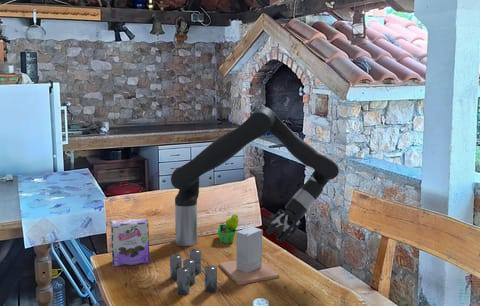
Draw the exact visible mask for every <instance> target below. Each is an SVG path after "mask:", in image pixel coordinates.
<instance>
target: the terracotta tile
mask: <svg viewBox="0 0 480 306" xmlns="http://www.w3.org/2000/svg"><path fill="white" fill-rule="evenodd" d="M218 266H219V267H220V268H221V269H222V270H223V271H224V272H225V273H226V274H227V276H228V277H230V279H232V280H233V281H234V282H235V284H237V286H241V285H246V284H250V283H256V282H261V281H262V282H263V281H266V280H273V279H277V278H280V274H279V272H277V271H275V270H274V269H273V268H272V267H270V266H269V264H267V263H266V262H265V261H263V260H262V267H260V268H258V269H256V270H254V271H252V272H250V273H245V272H242V271H240V270H238V269H236V259H235V260H230V261H223V262H219V264H218Z"/></svg>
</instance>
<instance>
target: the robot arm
mask: <svg viewBox="0 0 480 306" xmlns="http://www.w3.org/2000/svg"><path fill="white" fill-rule="evenodd" d="M268 133H269V134H271V135H272V136H274V137H275V138H276V139H278V141H279V142H280V143H281V144H282V145H283V146H284V147H285V149H286V150H287V151H288V152H289V154H291V155H292V156H293V157H294V158H296V160H298V161H299V162H301V163H302V164H303V165H304V166H306V167H310V168H311V169H313V172H312V174H311V175H310V177H309V178H308V179H307V180H306V182H305V183H304V184H303V185H302V186H301V188H299V190H298V191H296V193H295V194H293V196H292V197H291V198H290V200H289V201H288V202H287V203H286V204H285V206H284V207H285V209H284V210H282V208H280V209H278V210H277V212H276V213H275V214H274V215H273V216H272V217H271V218H270V220H269V221H270V222H271V224H270V225H269V227H268V228H266V230H265V232H266V233H267V234H268V235H269V236H270V235H272V233H274V231H275V230H276V228H278V227H279V226H283V230H281V232H280V233H279V235H278V236H276V241H278V242H279V243H281V242H283V241H284V239H285V238H286V237H287V236H289V235H291V236H293V235H294V233H295V232H296V231H297V230H298V228H299V227H300V226H301V224H302V221H300V220H301V219H302V218H303V217H304V216H305V215H306V213H307V212H308V211H309V209H310V208H312V206H313V205H314V203H315V202H316V200H317V199H318V198H319V196H320V195H321V194H322V192H323V191H324V187H326V185H327V184H328V183H329V181H330V180H333V179H335V178H337V176H339V172H340V171H339V170H340V169H339V166H338V165H337V163H336V162H335V161H334V160H332V159H331V158H329V157H328V156H326V155H325V154H322V153H321V152H319V151H317V150H316V149H315V148H314V147H312V146H311V145H310V144H308V143H307V142H306V141H305V140H303V139H302V138H301V137H299V136H298V135H297V134H296V132H294V131H292V129H290V128H289V127H288V126H287V125H286V124H285V123H284V122H283V121H282V120H281V119H280V117H279V116H277V115H276V113H275V112H274V111H273V110H272V109H270V108H269V107H267V106H259V107H258V108H256V109H255V110H254V111H253V112H252V113H251V114H250V116H249V117H248V118H247V119H246V120H245V121H244V122H242V124H240V125H239V126H238V127H237V128H236V129H234V130H232V131H230V132H227V133H225V134H223V135H221V136H220V137H218V138H217V139H216V140H214V141H213V142H211V143H210V144H209V145H208V146H206V148H204V149H203V150H202V151H200V152H199V153H198V154H196V156H195V157H193V158H192V159H191V160H189V161H188V162H186V163H184V164H183V165H182V166H181V165H180V167H177V168H175V169H174V171H173V172H172V173H171V176H170V183H171V186H173V187H174V189H177V190H178V192H177V194H176V196H175V198H174V214H175V216H174V218H175V219H174V221H175V222H174V223H175V224H174V225H175V228H174V229H175V244H176V245H177V246H181V247H191V246H195V245H196V244H197V243H198V199H199V194H200V177H201V176H203V175H204V174H206V173H209V172H210V171H212V170H214V169H216V168H219V166H222V165H223V164H225V163H226V162H227V161H229V160H230V159H232V158H233V157H234V156H235V155H237V154H238V153H239V152H241V150H243V148H245V147H246V146H247V145H248V144H250V143H252V142H253V141H255V140H257V139H259V138H261V137H262V136H264V135H266V134H268Z"/></svg>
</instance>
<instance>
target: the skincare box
mask: <svg viewBox="0 0 480 306" xmlns="http://www.w3.org/2000/svg"><path fill="white" fill-rule="evenodd" d="M235 252H236V258H235V260H236V269H238V270H240V271H242V272H245V273H250V272H252V271H254V270H256V269H258V268H260V267H262V261H263V229H260V228H258V227H255V226H252V225H250V226H247V227H245V228H243V229H240V230H238V231H237V230H236V250H235Z"/></svg>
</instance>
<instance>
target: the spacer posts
mask: <svg viewBox="0 0 480 306" xmlns="http://www.w3.org/2000/svg"><path fill="white" fill-rule="evenodd" d="M182 262H183V265H182ZM169 270H170V271H169V273H170V274H169V275H170V276H169V278H170V280H172V281H176V282H177V283H176V285H177V286H176V291H177V295H179V296H187V295H189V294H190V286H193V285H194V286H195V285H196V275H198V274H201V273H202V250H201V249H199V248H194V249H191V250H189V258H187V259H183V261H182V255H181V254H180V253H179V254H178V253H175V254H171V255H170V256H169ZM204 291H205V292H206V293H208V294H213V293H216V292H217V291H218V267H217V266H216V265H206V266H205V267H204Z"/></svg>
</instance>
